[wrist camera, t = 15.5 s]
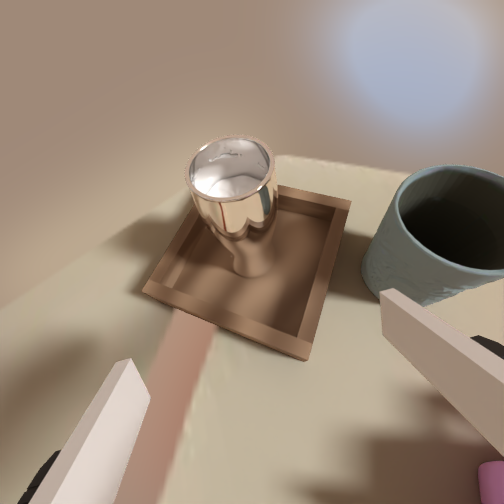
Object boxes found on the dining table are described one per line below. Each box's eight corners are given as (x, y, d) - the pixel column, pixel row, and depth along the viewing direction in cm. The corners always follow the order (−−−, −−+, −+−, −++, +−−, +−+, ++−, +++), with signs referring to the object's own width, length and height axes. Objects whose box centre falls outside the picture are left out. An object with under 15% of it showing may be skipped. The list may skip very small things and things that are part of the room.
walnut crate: (158, 300, 30) (141, 291, 26) (221, 190, 37) (214, 170, 33) (304, 361, 25) (308, 360, 21) (343, 219, 32) (351, 200, 28)
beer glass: (247, 224, 32) (223, 122, 19) (290, 249, 30) (297, 151, 17) (214, 262, 30) (162, 177, 17) (257, 292, 28) (236, 220, 14)
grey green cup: (370, 320, 26) (431, 285, 15) (342, 242, 31) (375, 173, 20) (464, 307, 25) (595, 261, 15) (421, 229, 30) (497, 152, 19)
